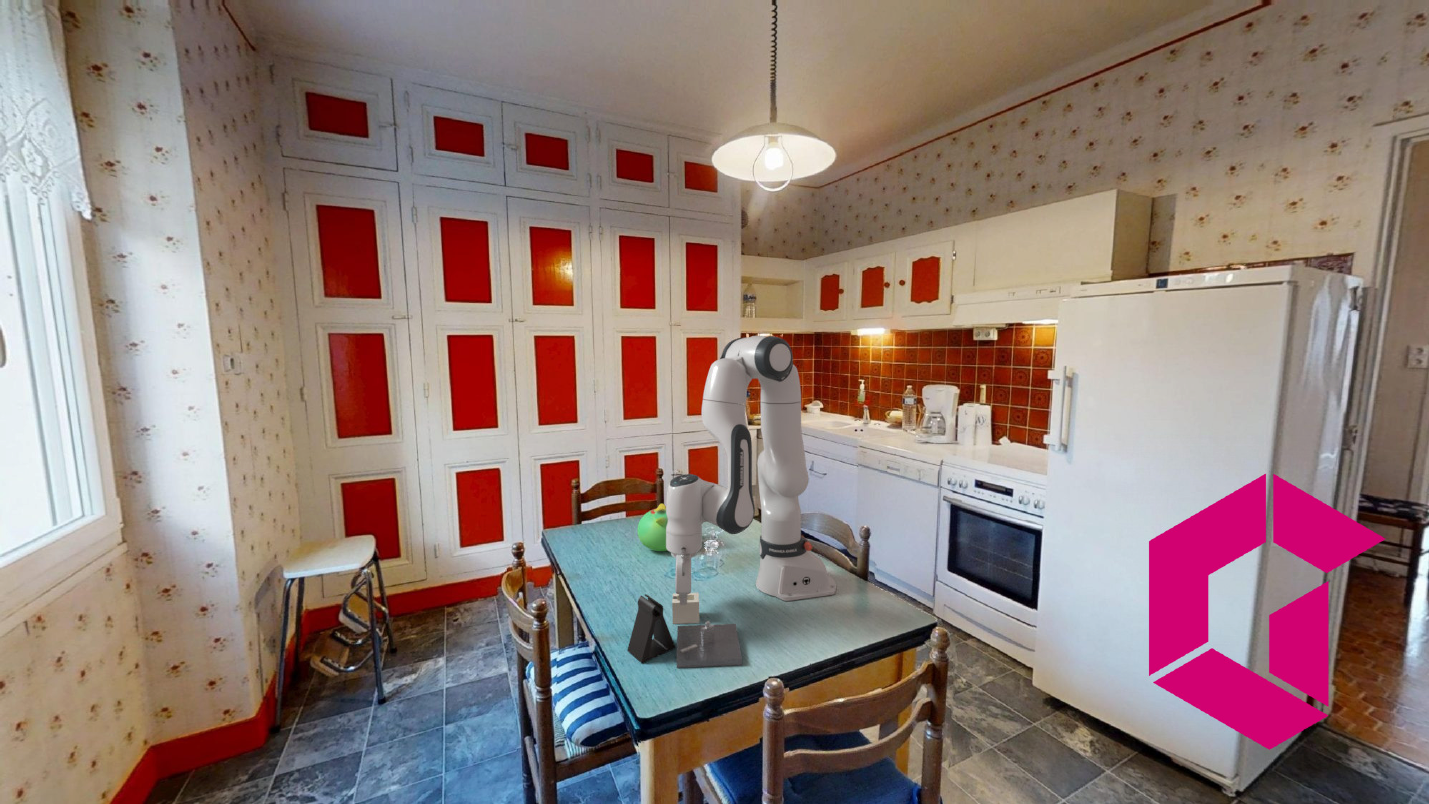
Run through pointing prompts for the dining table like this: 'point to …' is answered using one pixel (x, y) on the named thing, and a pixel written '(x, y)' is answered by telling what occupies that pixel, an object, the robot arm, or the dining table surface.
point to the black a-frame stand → (649, 631)
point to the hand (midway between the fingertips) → (683, 594)
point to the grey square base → (708, 646)
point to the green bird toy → (654, 529)
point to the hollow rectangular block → (685, 609)
